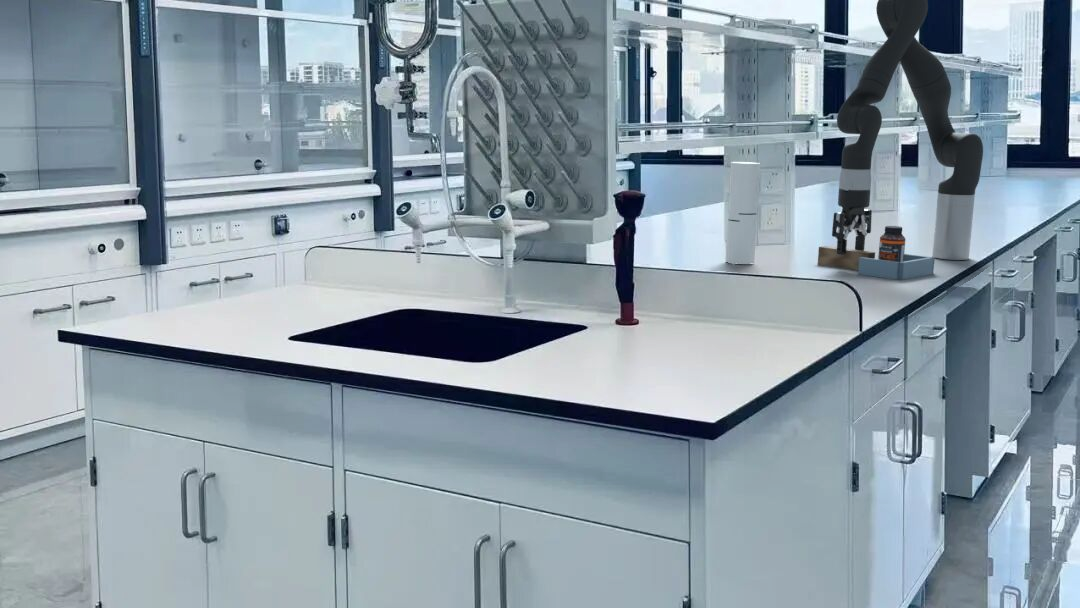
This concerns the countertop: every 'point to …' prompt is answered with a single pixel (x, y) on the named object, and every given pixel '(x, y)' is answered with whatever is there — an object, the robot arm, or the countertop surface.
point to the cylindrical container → (742, 212)
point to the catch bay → (897, 267)
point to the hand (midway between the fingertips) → (850, 252)
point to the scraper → (842, 257)
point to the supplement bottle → (892, 244)
